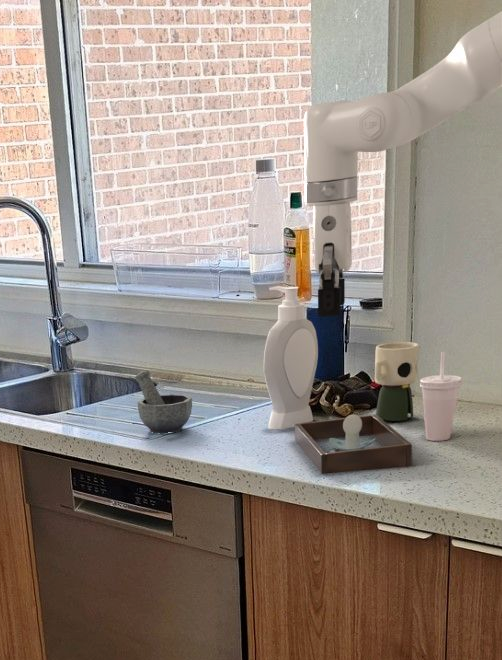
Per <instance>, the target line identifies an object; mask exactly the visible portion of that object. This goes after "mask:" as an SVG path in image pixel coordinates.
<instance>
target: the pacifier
mask: <svg viewBox="0 0 502 660" xmlns="http://www.w3.org/2000/svg"><path fill="white" fill-rule="evenodd" d="M359 416H360V415H357V414H349V415H347V416H346V417H345V418H346V419H345V420H344V422H343V429H344V431H345V433H346V437H345V440H342V439H340V438H330V439H328V442H329V445H331V446H332V447H333V448H335V449H331V450H329V451H328V453H330V452H339V451H348V450H357V449H365V448H367V447H369V446H371V445H372V444H374V443H375V442H376V440H377V439H376V438H372V439H369V440H366V441H363V442H360V436H359V431H360V430H361V428H362V420H361V418H360V417H359Z"/></svg>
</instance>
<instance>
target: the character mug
mask: <svg viewBox="0 0 502 660" xmlns="http://www.w3.org/2000/svg"><path fill="white" fill-rule="evenodd" d="M419 348H420V347H419V343H416V342H412V341H393V342H385V343H380V344H378V345H376V346H375V356H374V381H375V384H377V385H381V386H382V387H381V388H380V390H379V393H378V399H377V404H376V411H375V414H376V415H377V416H379V417H380V418H381V419H382V420H384V421H387V422H401V421H407V420H408V419H409V414H410V418H411V419H412V418H413V417H414V403H413V392H412V388H411V384H413V383H415V382H416V381H417V379H418V375H419V371H418V361H419V358H420V356H419Z"/></svg>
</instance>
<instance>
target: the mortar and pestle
mask: <svg viewBox="0 0 502 660" xmlns="http://www.w3.org/2000/svg"><path fill="white" fill-rule="evenodd" d="M150 374H151V373H150V371H149V370H143V371H140V372H139V373H137V374H136V375H135V377H134V380H135V381H136V382H137V383H138V385H139V387H140V391H141V393H142V396H143V398H141V399H140V400H139V401H137V411H138V415H139V418H140V420H141V422H142V424H143V425H144V426H145V427H146V428H148V430H149V432H150V433H151V432H153V433H168V432H176V433H179V432H181V431H182V430H183V427H184V426H185V425H186V423H188V421H189V418H190V417H191V415H192V410H193V398H192V397H191V396H190V395H188V394H177V393H172V394H171V393H169V394H160V393H159V391H158V389H157V387H156V385H155V384H154V382H153V380H152V378H151V375H150ZM180 430H181V431H180ZM178 431H179V432H178Z"/></svg>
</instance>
